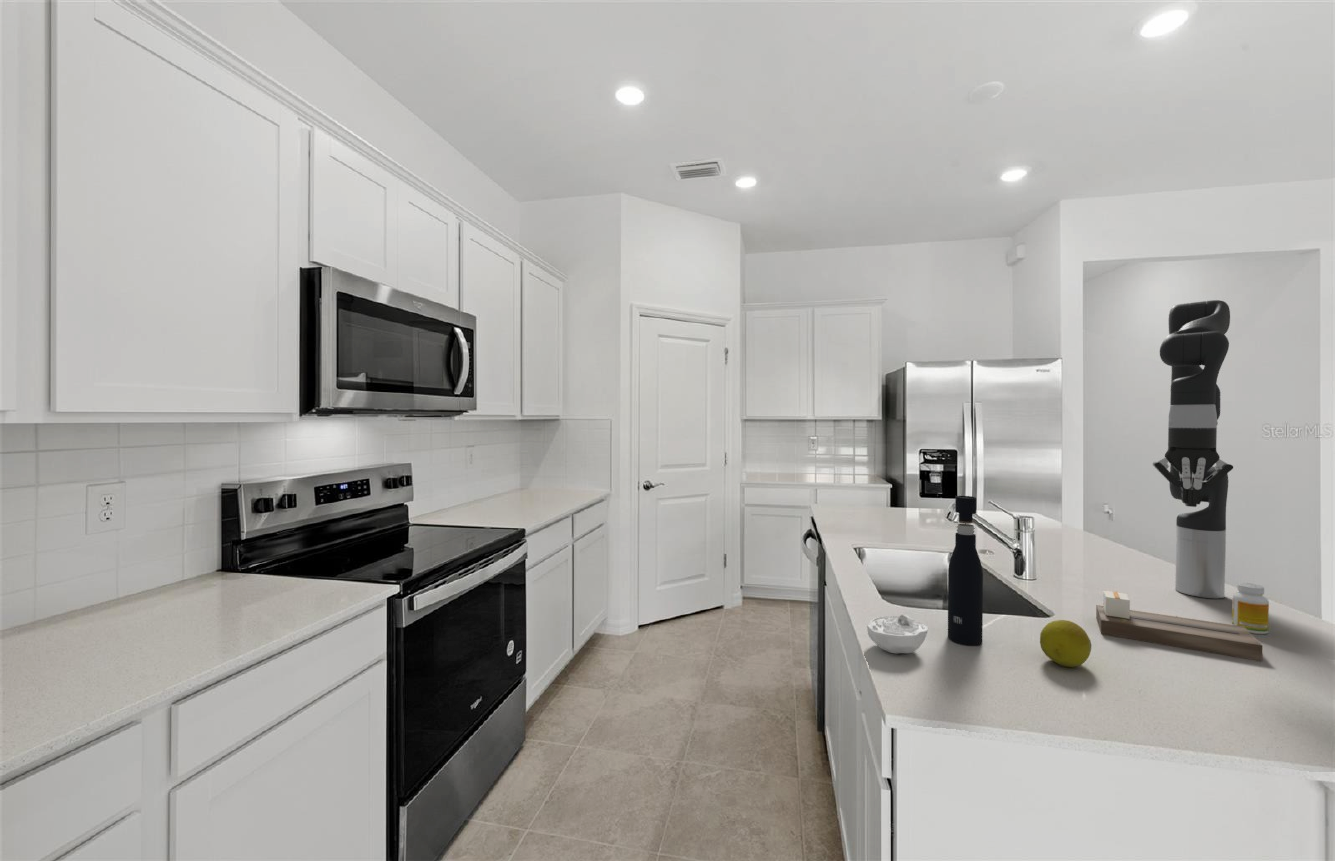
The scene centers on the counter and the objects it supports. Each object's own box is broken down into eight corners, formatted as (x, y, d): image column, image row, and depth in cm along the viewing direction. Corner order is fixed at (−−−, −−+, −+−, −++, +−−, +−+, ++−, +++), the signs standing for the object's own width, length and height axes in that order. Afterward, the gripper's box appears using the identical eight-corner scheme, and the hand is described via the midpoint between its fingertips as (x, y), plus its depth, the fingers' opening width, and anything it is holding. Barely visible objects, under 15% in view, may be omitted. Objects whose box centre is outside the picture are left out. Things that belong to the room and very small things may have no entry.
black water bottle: (978, 635, 116) (979, 495, 116) (985, 647, 110) (986, 499, 110) (945, 631, 119) (946, 494, 118) (950, 643, 112) (951, 498, 112)
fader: (1103, 608, 123) (1103, 589, 123) (1126, 611, 121) (1126, 592, 121) (1105, 615, 119) (1105, 595, 119) (1129, 618, 117) (1129, 599, 116)
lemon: (1078, 679, 97) (1079, 634, 97) (1029, 663, 103) (1030, 621, 103) (1101, 663, 103) (1101, 621, 103) (1053, 649, 110) (1054, 609, 109)
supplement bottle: (1275, 635, 115) (1276, 590, 115) (1245, 633, 116) (1246, 588, 116) (1254, 626, 121) (1255, 582, 120) (1225, 624, 122) (1226, 581, 121)
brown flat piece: (1096, 617, 126) (1096, 604, 126) (1243, 641, 113) (1243, 625, 113) (1101, 633, 117) (1101, 619, 117) (1262, 661, 104) (1262, 644, 103)
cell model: (855, 643, 113) (855, 610, 113) (905, 637, 116) (905, 605, 116) (886, 664, 103) (886, 629, 103) (940, 657, 106) (940, 622, 106)
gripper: (1230, 425, 117) (1228, 506, 118) (1148, 425, 124) (1147, 501, 125) (1241, 426, 111) (1239, 511, 111) (1154, 426, 118) (1153, 506, 119)
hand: (1190, 506), depth 118 cm, fingers closed
